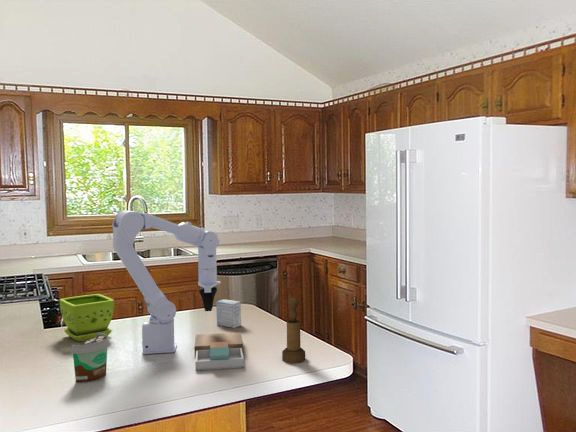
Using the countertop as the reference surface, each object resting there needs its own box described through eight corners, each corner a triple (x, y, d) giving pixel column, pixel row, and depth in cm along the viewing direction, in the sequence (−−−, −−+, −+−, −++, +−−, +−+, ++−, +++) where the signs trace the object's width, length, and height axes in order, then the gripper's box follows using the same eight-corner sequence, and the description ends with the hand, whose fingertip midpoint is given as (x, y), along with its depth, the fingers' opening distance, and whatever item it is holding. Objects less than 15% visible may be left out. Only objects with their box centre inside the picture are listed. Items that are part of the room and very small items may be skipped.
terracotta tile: (210, 360, 145) (210, 353, 144) (210, 349, 150) (210, 342, 149) (228, 359, 146) (228, 352, 145) (227, 348, 150) (227, 341, 149)
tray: (195, 370, 140) (195, 361, 140) (196, 358, 149) (196, 350, 149) (243, 367, 142) (243, 358, 142) (241, 356, 151) (241, 347, 151)
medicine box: (241, 325, 185) (241, 301, 184) (233, 328, 181) (233, 303, 181) (224, 322, 189) (223, 299, 189) (216, 325, 185) (215, 301, 185)
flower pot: (73, 345, 163) (72, 305, 163) (59, 336, 174) (57, 298, 173) (116, 336, 173) (115, 298, 172) (100, 328, 183) (99, 292, 182)
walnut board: (194, 358, 150) (194, 346, 150) (195, 345, 162) (195, 334, 162) (243, 355, 152) (243, 343, 152) (241, 343, 164) (240, 332, 164)
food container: (94, 386, 130) (93, 346, 129) (72, 384, 131) (70, 345, 130) (119, 369, 142) (118, 333, 141) (99, 367, 143) (98, 331, 142)
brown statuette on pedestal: (288, 364, 144) (288, 300, 143) (278, 358, 149) (277, 296, 148) (309, 360, 147) (309, 297, 146) (298, 354, 152) (297, 293, 151)
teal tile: (210, 356, 144) (210, 364, 143) (210, 347, 141) (210, 356, 139) (228, 355, 145) (228, 363, 143) (228, 346, 142) (228, 355, 140)
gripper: (220, 271, 158) (221, 315, 159) (219, 264, 173) (220, 304, 173) (197, 272, 157) (198, 316, 158) (198, 265, 172) (199, 305, 172)
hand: (208, 310), depth 166 cm, fingers closed
